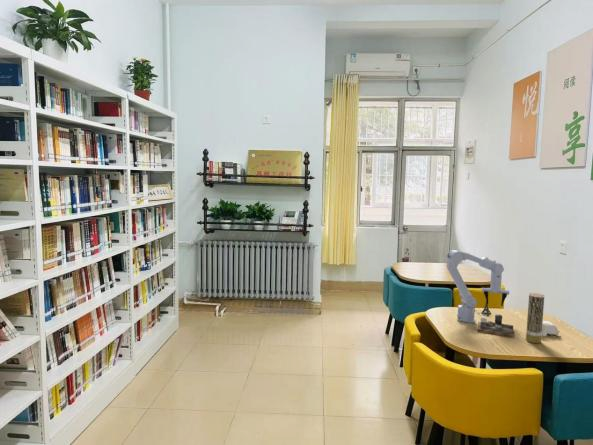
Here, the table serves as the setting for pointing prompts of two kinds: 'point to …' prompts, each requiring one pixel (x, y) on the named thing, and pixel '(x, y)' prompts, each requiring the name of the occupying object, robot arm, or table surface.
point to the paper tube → (535, 317)
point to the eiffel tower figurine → (486, 311)
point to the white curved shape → (549, 328)
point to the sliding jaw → (498, 321)
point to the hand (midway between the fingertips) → (494, 304)
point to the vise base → (490, 328)
